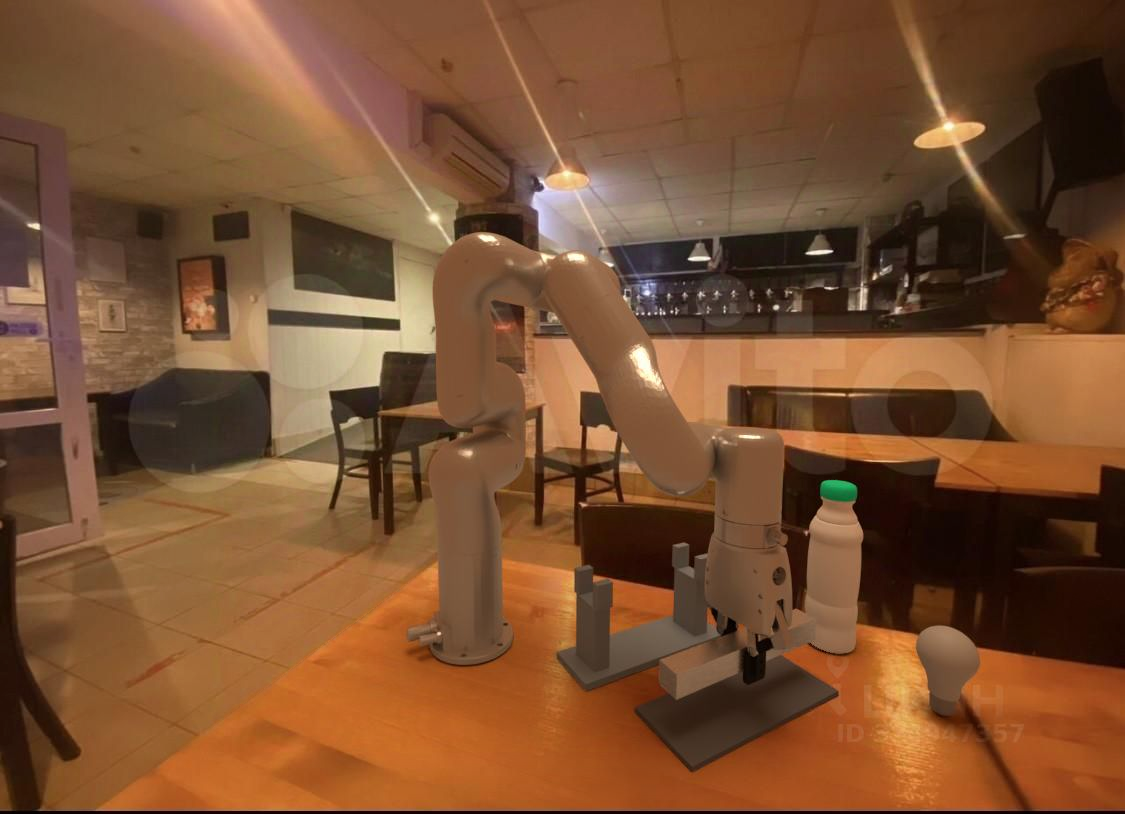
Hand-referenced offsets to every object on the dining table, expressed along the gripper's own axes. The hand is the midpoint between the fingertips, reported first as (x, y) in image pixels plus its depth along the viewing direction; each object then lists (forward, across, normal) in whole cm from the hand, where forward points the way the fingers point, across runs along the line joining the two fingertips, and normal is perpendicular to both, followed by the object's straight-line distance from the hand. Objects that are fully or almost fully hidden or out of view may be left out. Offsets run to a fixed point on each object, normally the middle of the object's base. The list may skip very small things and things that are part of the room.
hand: (741, 670), depth 62 cm
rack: (+4, +15, +4) cm, 16 cm away
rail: (-1, 0, 0) cm, 1 cm away
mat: (+5, 0, 0) cm, 5 cm away
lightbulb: (+5, -13, -20) cm, 25 cm away
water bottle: (+5, +3, -22) cm, 23 cm away
